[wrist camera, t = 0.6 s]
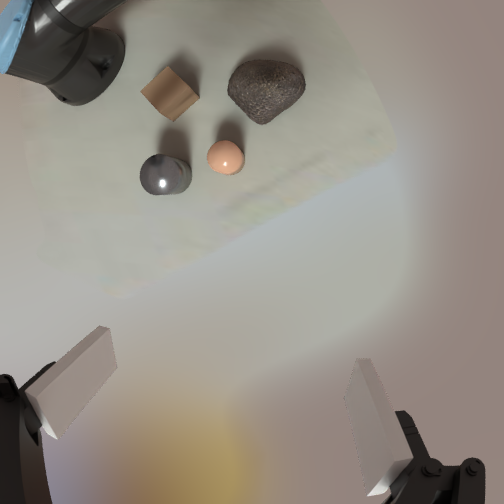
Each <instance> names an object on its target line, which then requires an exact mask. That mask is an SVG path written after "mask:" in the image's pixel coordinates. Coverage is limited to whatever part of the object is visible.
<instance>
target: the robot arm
mask: <svg viewBox="0 0 504 504" xmlns="http://www.w3.org/2000/svg"><path fill="white" fill-rule="evenodd" d="M127 1H128V0H11V1H10V2H9V4H8V5H7V6H6V7H5V9H4V10H3V12H2V13H1V15H0V73H2V74H4V73H5V74H9V75H13V76H17V77H20V78H23V79H27V80H30V81H33V82H36V83H39V84H42V85H45V86H46V87H47V88H48V89H49V90H50V91H51V92H52V93H53V94H54V95H55V96H56V97H57V98H58V99H59V100H60V101H62V102H63V103H66V104H69V105H73V106H79V105H83V104H86V103H88V102H90V101H92V100H94V99H95V98H97V97H98V96H99V95H100V94H101V93H103V92H104V91H105V90H106V88H107V87H108V86H109V85H110V84H111V83H112V81H113V80H114V78H115V77H116V75H117V73H118V72H119V70H120V67H121V65H122V62H123V59H124V52H125V48H124V43H123V41H122V39H121V38H120V37H119V36H118V35H116V34H115V33H114V32H112V31H110V30H108V29H102V28H98V27H93V26H92V25H93V24H94V23H96V22H97V21H98V20H100V19H101V18H103V17H104V16H105V15H107V14H108V13H110V12H111V11H113V10H114V9H116V8H117V7H119V6H120V5H122V4H123V3H125V2H127ZM116 369H117V363H116V358H115V354H114V348H113V343H112V338H111V332H110V328H106V327H102V326H98V327H97V328H96V329H95V330H94V331H92V332H91V333H90V334H89V335H88V336H86V337H85V338H84V339H83V340H82V341H80V342H79V343H78V344H77V345H76V346H75V347H73V348H72V349H71V350H70V351H69V352H68V353H67V354H65V356H63V357H62V358H61V359H60V360H59V361H57V362H52V363H50V364H47V365H46V366H45V367H43V368H42V369H41V370H40V372H38V373H37V374H35V376H33V377H32V378H31V379H30V380H29V381H28V382H26V383H25V384H24V385H23V386H22V387H21V388H20V389H18V387H17V386H16V383H15V381H14V379H13V377H12V376H10V375H8V374H2V375H0V504H52V500H51V496H50V491H49V486H48V481H47V476H46V470H45V463H44V456H43V448H42V436H41V432H40V427H41V426H43V428H44V429H45V431H46V433H47V434H49V435H50V436H52V437H54V438H55V439H57V440H58V439H59V438H60V437H61V436H62V435H63V434H64V432H65V431H66V430H67V429H68V427H69V426H70V425H71V424H72V422H73V421H74V420H75V419H76V417H77V416H78V415H79V414H80V412H81V411H82V410H83V409H84V407H85V406H86V405H87V404H88V403H89V401H90V400H91V399H92V398H93V396H94V395H95V394H96V393H97V392H98V390H99V389H100V388H101V387H102V386H103V384H104V383H105V382H106V381H107V380H108V378H109V377H110V376H111V375H112V374H113V372H114V371H115V370H116ZM344 400H345V403H346V408H347V411H348V415H349V420H350V424H351V428H352V431H353V436H354V440H355V444H356V449H357V453H358V458H359V462H360V467H361V471H362V476H363V481H364V486H365V490H366V496H371V495H377V494H383V493H384V492H385V491H386V490H387V489H388V488H389V487H390V490H391V495H390V496H389V497H388V498H387V499H386V500H385V501H384V502H383V503H382V504H485V466H484V464H483V463H482V461H481V460H479V459H477V458H468V459H466V460H464V461H463V463H462V464H461V465H460V466H443V465H442V463H441V462H440V461H438V460H436V459H433V458H430V456H429V454H428V452H427V449H426V447H425V445H424V443H423V441H422V438H421V436H420V434H418V430H417V427H415V423H414V421H413V419H412V417H411V416H410V415H409V414H408V413H407V412H406V411H394V409H393V407H392V405H391V403H390V400H389V398H388V396H387V393H386V391H385V389H384V387H383V385H382V383H381V381H380V378H379V376H378V374H377V372H376V370H375V367H374V366H373V363H372V361H371V359H356V362H355V366H354V369H353V372H352V376H351V378H350V382H349V385H348V388H347V391H346V394H345V396H344Z"/></svg>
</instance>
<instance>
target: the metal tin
mask: <svg viewBox="0 0 504 504" xmlns="http://www.w3.org/2000/svg"><path fill="white" fill-rule="evenodd" d="M191 180H192V172H191V169H190V167H189V165H188V164H187V163H186V162H185V161H183V160H180V159H176V158H173V157H170V156H166V155H162V154H157V155H153V156H151V157H149V158H148V159H147V160H146V161H145V162H144V164H143V165H142V168H141V171H140V181H141V184H142V186H143V188H144V189H145V190H146V191H147V192H148V193H150V194H153V195H168V194H179V193H182V192H184V191H185V190H186V189H187V188H188V187H189V185H190V183H191Z"/></svg>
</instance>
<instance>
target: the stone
mask: <svg viewBox="0 0 504 504" xmlns="http://www.w3.org/2000/svg"><path fill="white" fill-rule="evenodd" d="M305 86H306V84H305V79H304V76H303V74H302V73H301V72H300V71H299V70H298V69H297V68H295V67H294V66H293V65H290V64H288V63H284V62H277V61H271V60H254V61H248V62H246V63H244V64H242V65H241V66H240V67H238V68H237V69H236V71H235V72H234V73H233V74H232V76H231V78H230V80H229V84H228V89H227V91H228V95H229V96H230V98H231V99H232V100H233V101H234V102H235V103H236V105H238V106H239V107H240V108H241V109H242V110H243V111H244V112H245V113H246V115H247V116H248V117H249V118H250V119H251V120H253V121H255V122H256V123H258V124H261V125H263V124H266V123H268V122H270V121H271V120H272V119H274V118H275V117H276V116H277V115H279V114H280V113H281V112H283V111H284V110H286V109H288V108H289V107H290V106H292V105H293V104H294V103H295V102H296V101H297V100H298V99H299V98H300V97H301V96H302V94H303V93H304V90H305Z"/></svg>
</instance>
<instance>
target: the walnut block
mask: <svg viewBox="0 0 504 504" xmlns="http://www.w3.org/2000/svg"><path fill="white" fill-rule="evenodd" d="M140 92H141V93H142V94H143V95H144V96H145V97H146V98H147V99H148V101H149V102H150V103H151V104H152V105H153V106H154V107H155V108H156V109H157V110H158V111H159V113H161V114H162V115H164V116H165V117H167V118H169V119H170V120H172V121H175V120H176V119H177V118H178V117H179V116H180V115H181V114H182V113H184V112H185V111H186V110H187V109H188V108H189V107H190V106H191V105H192V104H194V103H195V102H196V101H197V100H198V99H199V97H198V96H197V95H196V93H195V92H194V91H193V90H192V89H191V88H190V87H189V86H188V85H187V84H186V83H185V82H184V81H183V80H182V79H181V78H180V77H179V76H178V75H177V74H176V73H175V72H174V71H172V70H171V69H170V68H169V67H168V66H167V67H166V68H165V69H164V70H163V71H162V72H160V73H159V74H158V75H157V76H156V77H155V78H154V79H153V80H152V81H151V82H150V83H149V84H148V85H146V86H145V87H144V88H143V89H142V90H141V91H140Z"/></svg>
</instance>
